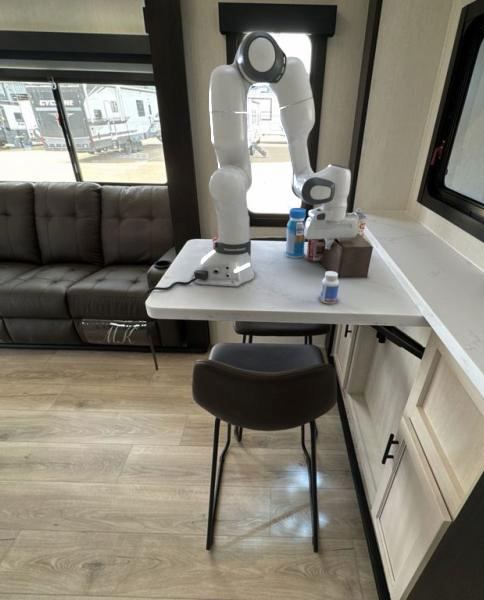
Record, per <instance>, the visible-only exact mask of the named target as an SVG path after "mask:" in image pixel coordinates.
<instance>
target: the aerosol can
mask: <svg viewBox="0 0 484 600" xmlns="http://www.w3.org/2000/svg"><path fill="white" fill-rule="evenodd" d="M353 213H356V214H357V215H358V216H359V220H358V223H357V233H359V234H360V235H361V236H362V237H363V238H364V232H365V228H366V227H365V226H366V220H367V216H366V215H365V213H364V212H363V211H362V207H361V208H360V207H358V208H357V209H356V210H355V211H354V212H353ZM357 215H356V216H357Z"/></svg>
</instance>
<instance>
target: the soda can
mask: <svg viewBox="0 0 484 600" xmlns="http://www.w3.org/2000/svg"><path fill="white" fill-rule="evenodd" d="M322 241H323V239H307V250H306V259H307V260H308V261H310V262H313V263H316V262H317V263H318V262H320V258H321V257H317V258H314V257H313V253H314V243H320V242H322ZM321 250H322V246H317V252H316V254H320V253H321Z"/></svg>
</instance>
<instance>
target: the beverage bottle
mask: <svg viewBox="0 0 484 600" xmlns="http://www.w3.org/2000/svg"><path fill="white" fill-rule="evenodd" d="M288 216H289V220H288V221H287V224H286V244H285V255H286V256H287V257H288V258H292V259H299V258H302V257H304V255H305V243H306V242H305V241H306V237H305V236H304V227H305V223H306V220H305V219H306V216H307V209H306V208H303V207H291V208H290V209H289V215H288Z"/></svg>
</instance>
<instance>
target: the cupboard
mask: <svg viewBox="0 0 484 600" xmlns="http://www.w3.org/2000/svg"><path fill="white" fill-rule="evenodd" d="M334 241H335V242H337V243H338V244H339V245H341V246H342V247H343V252H342V258H341V265H340V271H339V278H338V279H352V278H353V279H356V278H357V279H360V278H361V279H363V278H365V279H366V278H368V274H369V271H370V270H369V268H370V265H371V260H372V255H373V250H374V246H373V245H372V244H371V243H370V242H369V241H368V240H367V239H365V237H364V236H363V237H362V236H361V235H360V234H359V233H357V235H356V236H355V237H354V238H337V239H334Z"/></svg>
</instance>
